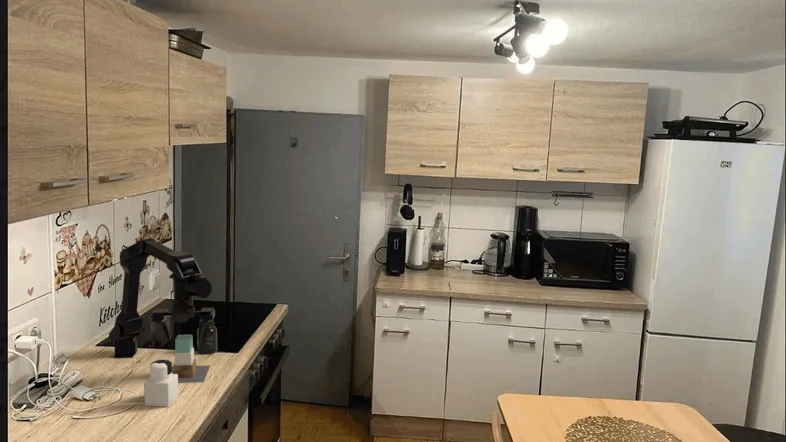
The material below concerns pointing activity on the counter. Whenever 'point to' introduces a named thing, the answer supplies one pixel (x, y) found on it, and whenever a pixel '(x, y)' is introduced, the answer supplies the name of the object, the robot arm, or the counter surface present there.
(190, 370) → the tower base
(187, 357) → the tower mid
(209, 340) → the supplement bottle
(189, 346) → the teal cube
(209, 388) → the counter surface
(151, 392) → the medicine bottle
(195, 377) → the mat
